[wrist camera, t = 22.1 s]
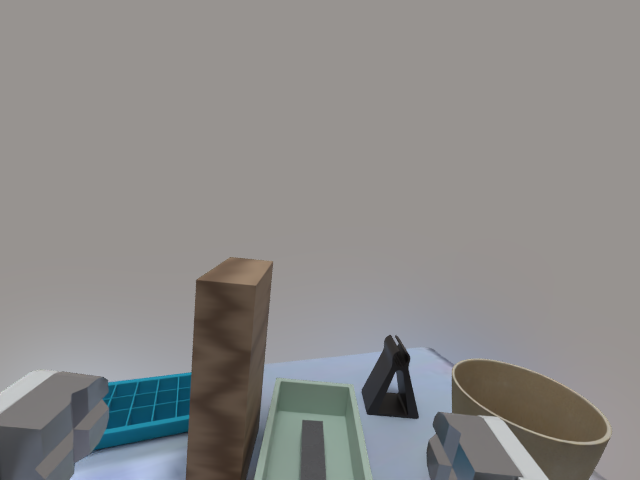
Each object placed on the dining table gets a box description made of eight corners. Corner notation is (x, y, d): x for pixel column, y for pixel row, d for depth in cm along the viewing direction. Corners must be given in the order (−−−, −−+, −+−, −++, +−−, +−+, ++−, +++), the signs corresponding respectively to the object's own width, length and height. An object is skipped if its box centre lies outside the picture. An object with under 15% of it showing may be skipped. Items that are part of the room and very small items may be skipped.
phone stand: (407, 396, 57) (417, 337, 55) (418, 419, 51) (429, 353, 49) (361, 392, 57) (369, 332, 55) (366, 414, 51) (375, 348, 49)
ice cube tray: (63, 406, 46) (62, 388, 46) (202, 386, 54) (203, 370, 54) (24, 471, 35) (23, 448, 35) (205, 434, 43) (206, 415, 43)
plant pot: (584, 522, 36) (614, 402, 34) (566, 637, 26) (608, 475, 24) (459, 442, 47) (476, 347, 45) (410, 501, 36) (430, 381, 34)
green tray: (219, 677, 22) (225, 609, 21) (273, 411, 49) (276, 377, 48) (390, 687, 22) (401, 621, 21) (348, 417, 49) (353, 384, 49)
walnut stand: (184, 505, 33) (196, 279, 30) (219, 424, 45) (230, 257, 42) (238, 509, 33) (256, 285, 30) (258, 428, 45) (273, 261, 42)
